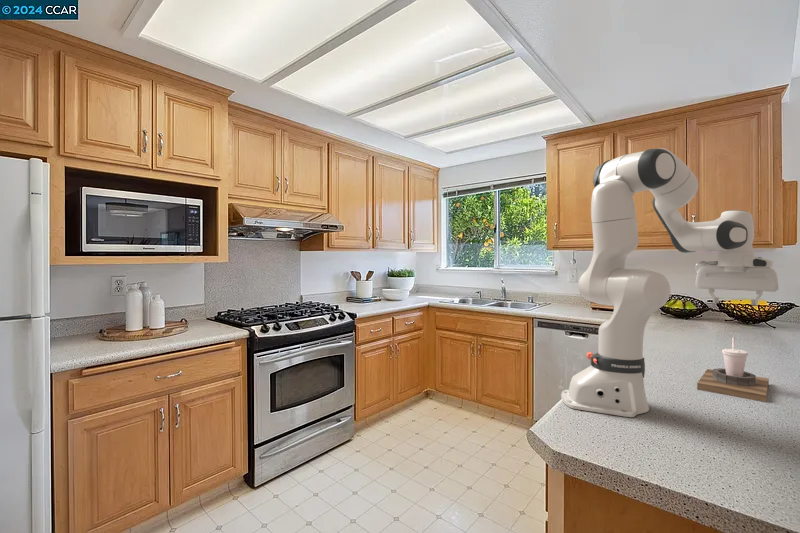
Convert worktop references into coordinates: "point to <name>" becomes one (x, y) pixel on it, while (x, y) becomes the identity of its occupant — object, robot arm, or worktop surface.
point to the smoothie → (734, 360)
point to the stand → (734, 384)
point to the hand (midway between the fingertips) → (734, 304)
